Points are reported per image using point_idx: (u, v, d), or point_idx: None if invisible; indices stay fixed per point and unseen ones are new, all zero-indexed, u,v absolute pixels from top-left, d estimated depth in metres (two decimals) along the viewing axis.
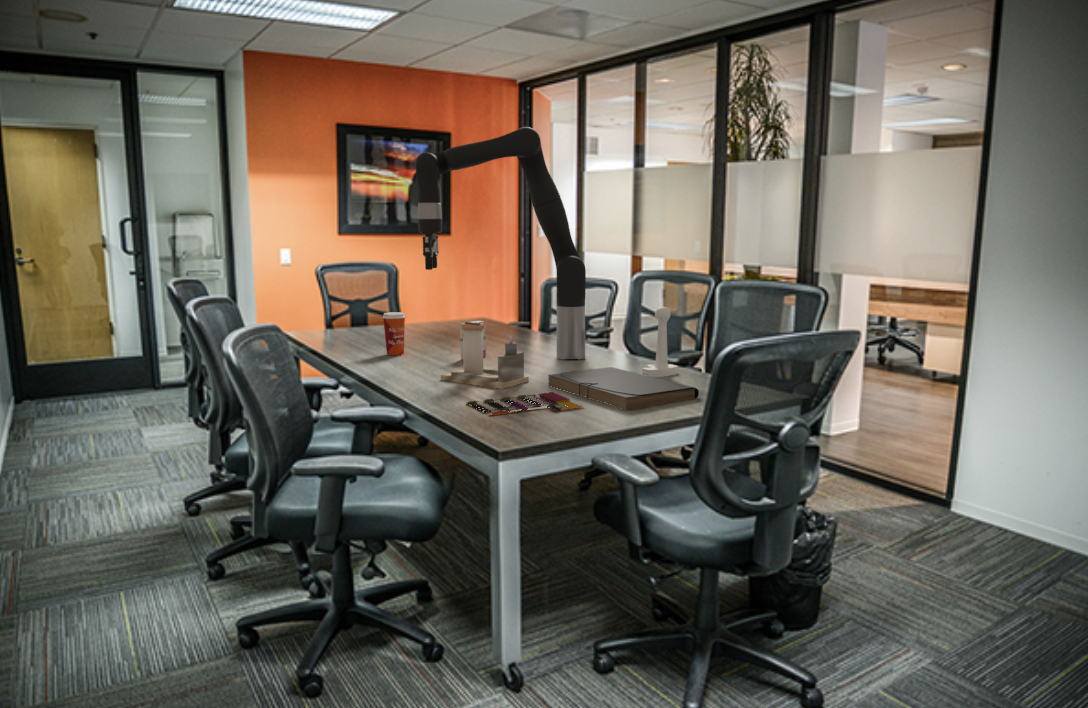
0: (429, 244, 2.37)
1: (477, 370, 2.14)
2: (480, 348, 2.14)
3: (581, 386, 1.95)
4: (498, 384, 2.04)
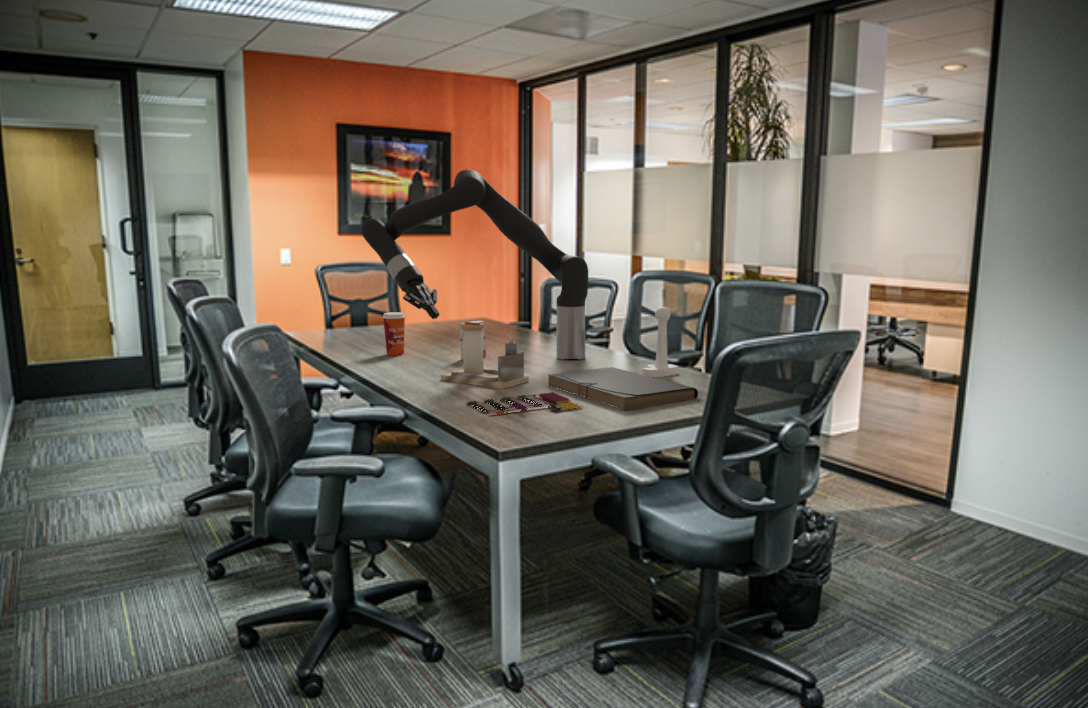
0: None
1: (477, 370, 2.14)
2: (480, 348, 2.14)
3: (580, 386, 1.95)
4: (498, 384, 2.04)
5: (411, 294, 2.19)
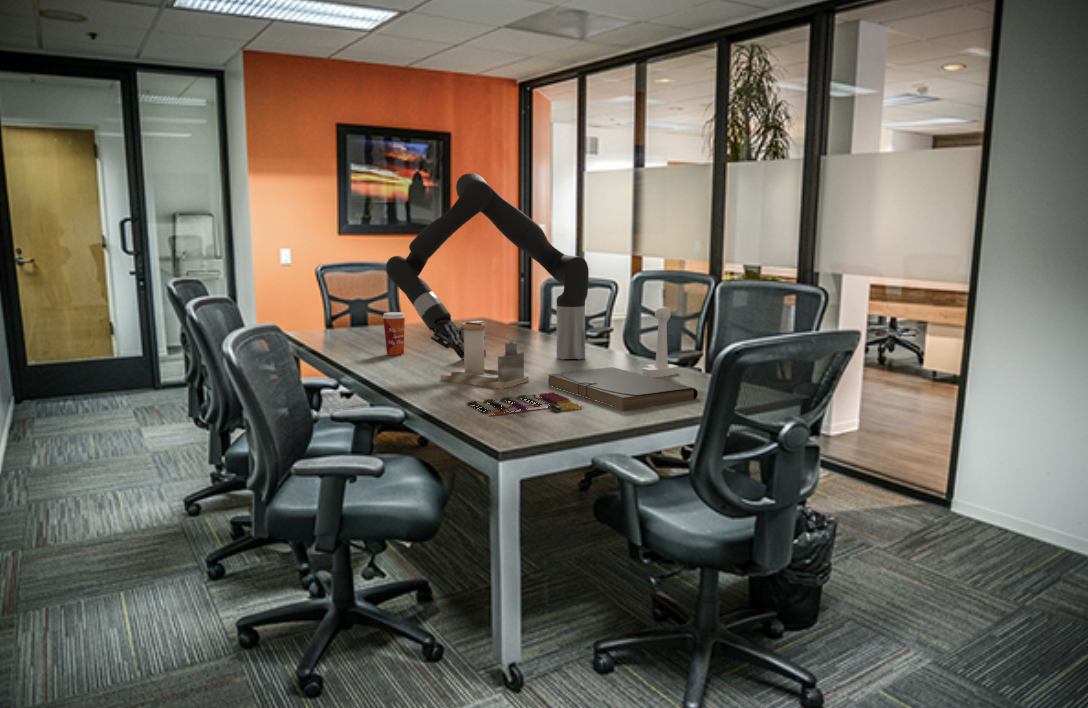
0: None
1: (478, 370, 2.13)
2: (481, 348, 2.13)
3: (580, 386, 1.95)
4: (498, 384, 2.04)
5: (439, 334, 2.15)
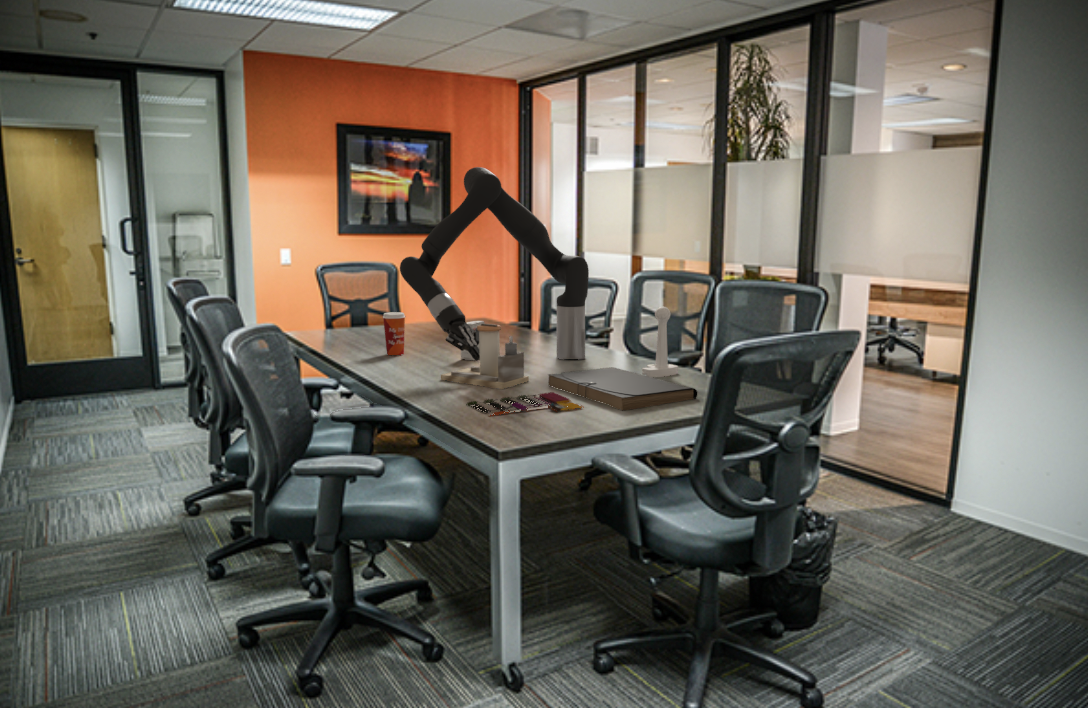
0: None
1: (494, 372, 2.10)
2: (497, 350, 2.10)
3: (579, 386, 1.95)
4: (498, 384, 2.04)
5: (454, 336, 2.12)
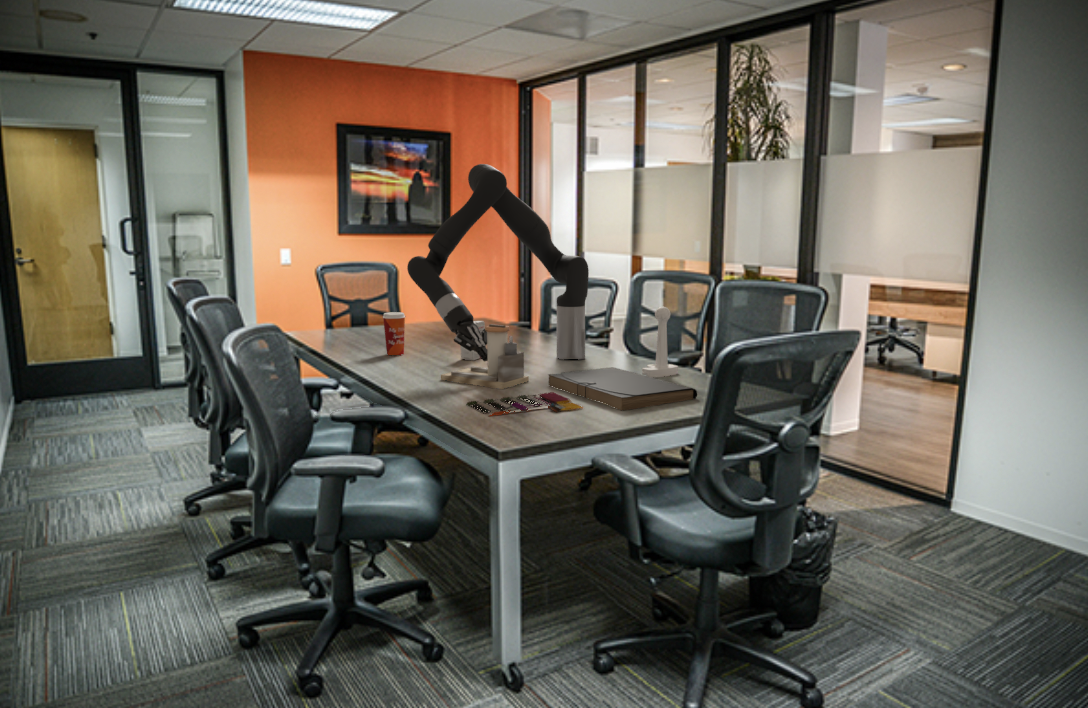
0: None
1: None
2: None
3: (579, 386, 1.95)
4: (498, 384, 2.04)
5: (462, 336, 2.10)
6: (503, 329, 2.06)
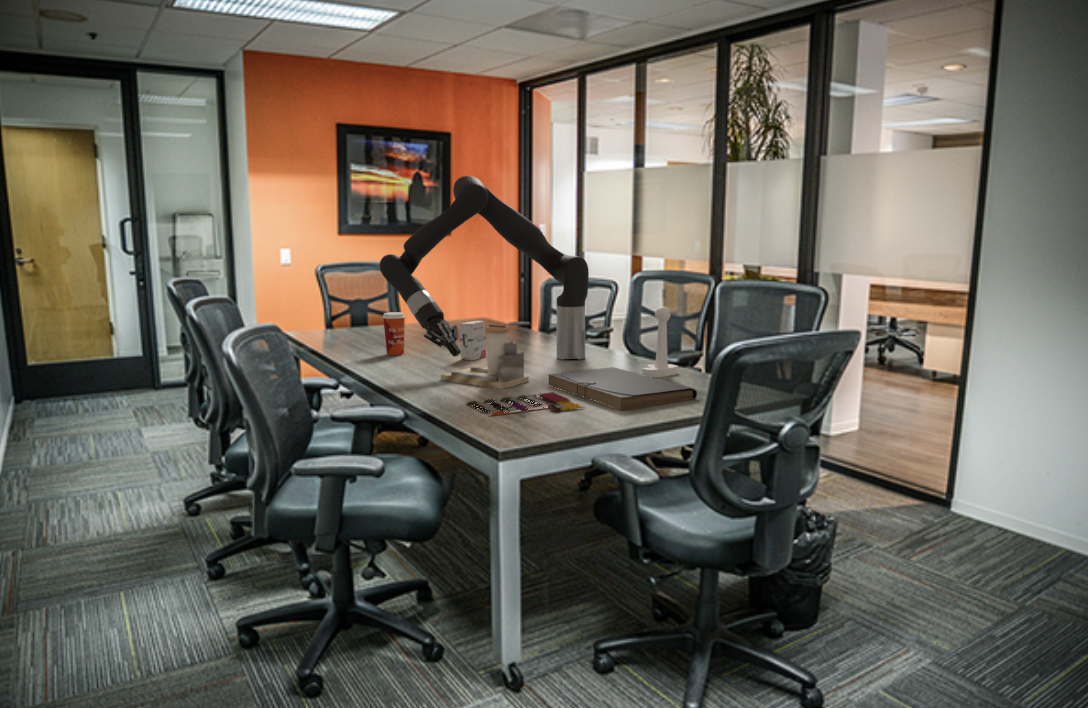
0: None
1: None
2: None
3: (579, 386, 1.95)
4: (498, 384, 2.04)
5: (432, 332, 2.16)
6: (503, 329, 2.06)
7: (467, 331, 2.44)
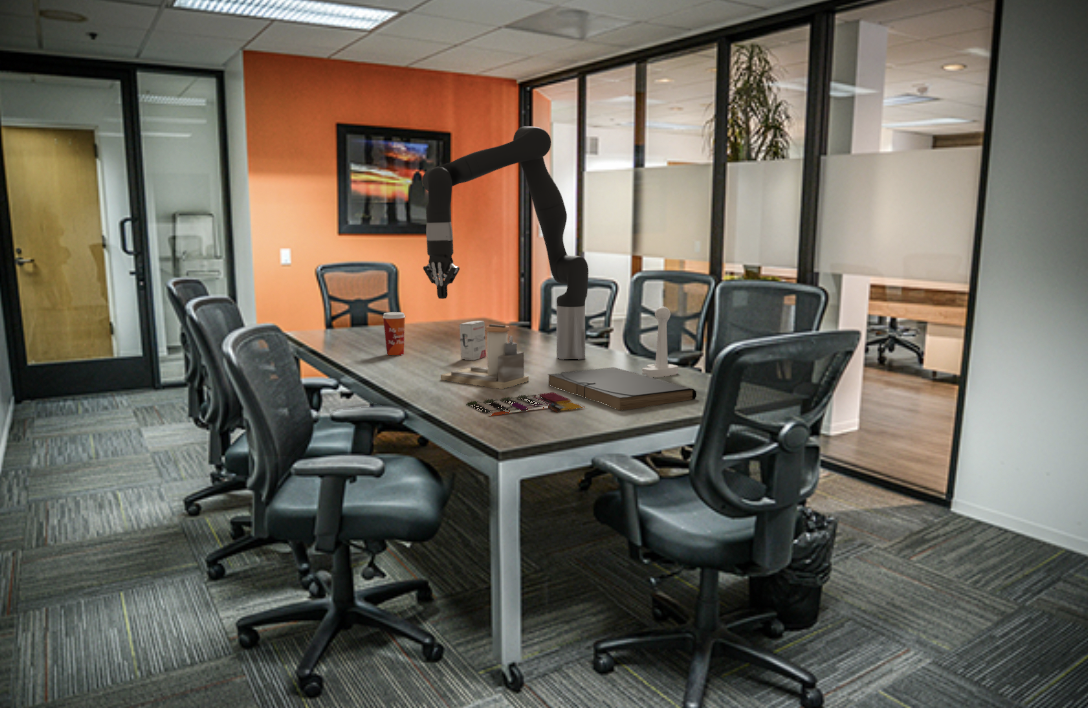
0: None
1: None
2: None
3: (578, 386, 1.95)
4: (498, 384, 2.04)
5: None
6: (503, 329, 2.06)
7: (467, 331, 2.44)
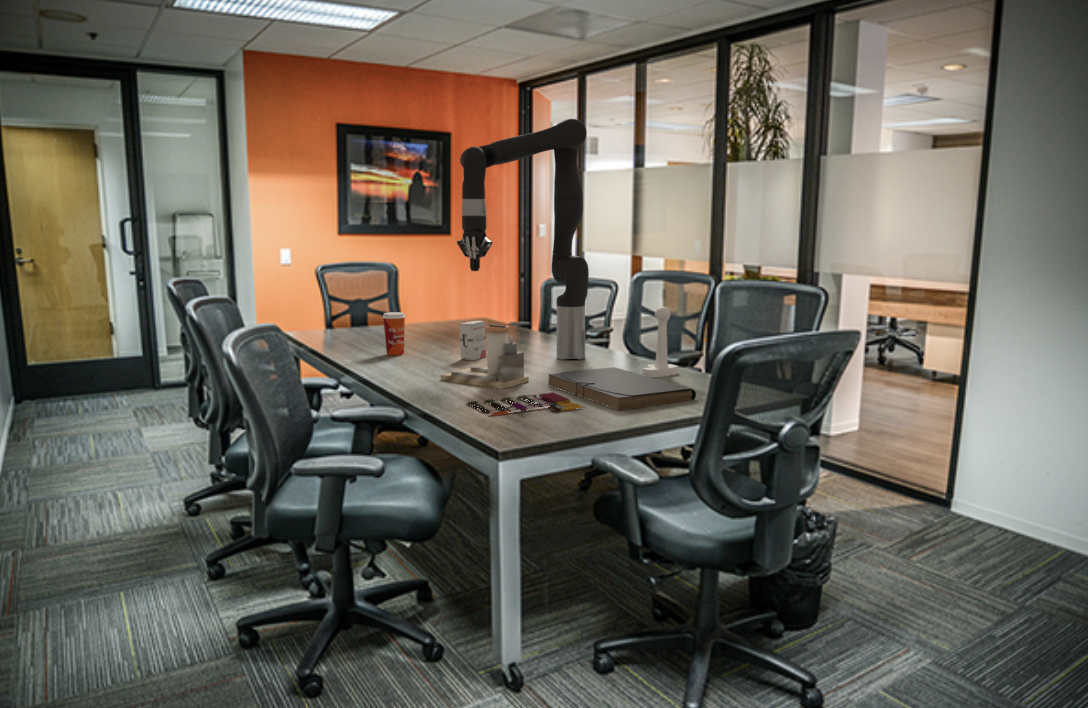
0: None
1: None
2: None
3: (578, 386, 1.95)
4: (498, 384, 2.04)
5: None
6: (503, 329, 2.06)
7: (467, 331, 2.44)
